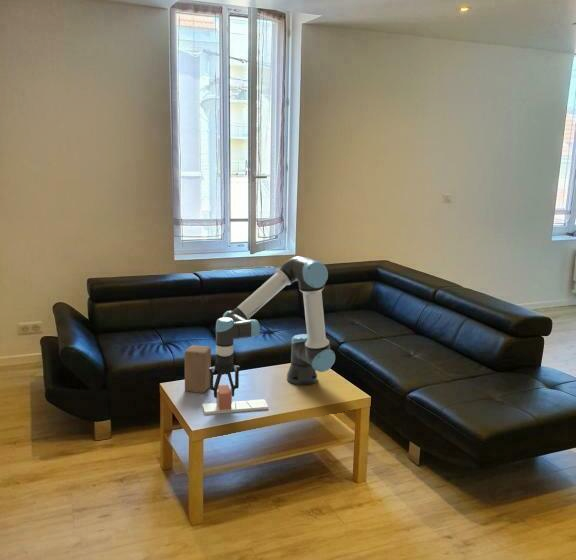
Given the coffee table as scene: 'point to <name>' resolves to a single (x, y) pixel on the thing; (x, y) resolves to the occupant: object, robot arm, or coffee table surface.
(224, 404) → the block
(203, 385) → the wooden block
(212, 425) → the coffee table surface
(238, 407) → the board
